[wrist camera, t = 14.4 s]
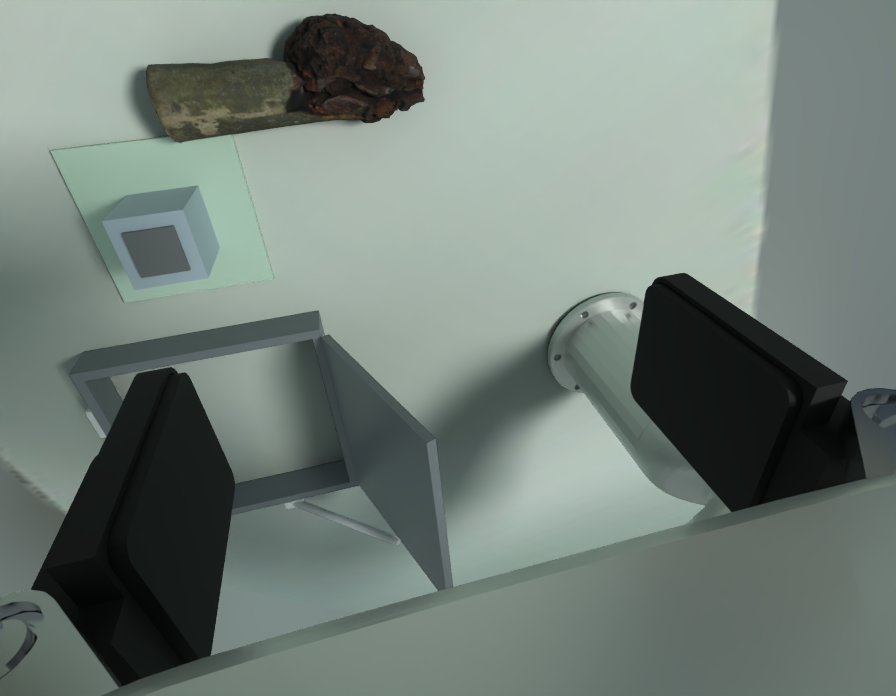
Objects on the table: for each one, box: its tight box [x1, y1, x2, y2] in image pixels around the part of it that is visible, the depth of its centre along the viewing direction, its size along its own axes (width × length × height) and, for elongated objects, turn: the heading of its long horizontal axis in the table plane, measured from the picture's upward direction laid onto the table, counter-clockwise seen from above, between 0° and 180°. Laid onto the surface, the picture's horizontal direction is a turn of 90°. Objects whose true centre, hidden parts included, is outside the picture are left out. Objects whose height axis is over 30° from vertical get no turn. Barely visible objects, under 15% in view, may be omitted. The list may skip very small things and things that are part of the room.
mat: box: [50, 135, 274, 303], centre depth 39 cm, size 12×12×1 cm
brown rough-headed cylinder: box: [146, 14, 425, 143], centre depth 34 cm, size 18×7×6 cm, turn 94°
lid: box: [321, 334, 453, 591], centre depth 43 cm, size 17×19×1 cm
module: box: [102, 185, 220, 290], centre depth 37 cm, size 5×5×6 cm
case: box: [69, 311, 401, 546], centre depth 46 cm, size 24×21×12 cm
